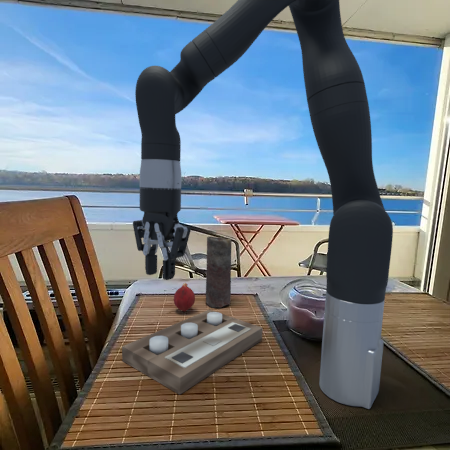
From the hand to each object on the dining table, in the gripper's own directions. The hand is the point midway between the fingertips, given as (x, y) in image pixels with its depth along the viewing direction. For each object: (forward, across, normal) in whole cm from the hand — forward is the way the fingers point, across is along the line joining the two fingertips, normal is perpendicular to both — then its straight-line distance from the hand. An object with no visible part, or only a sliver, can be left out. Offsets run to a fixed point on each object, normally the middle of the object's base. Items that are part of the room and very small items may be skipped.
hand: (159, 276), depth 62 cm
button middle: (+15, 0, -8) cm, 17 cm away
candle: (+17, +12, -32) cm, 39 cm away
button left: (+15, 0, 0) cm, 15 cm away
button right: (+15, 0, -17) cm, 23 cm away
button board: (+17, -2, -8) cm, 19 cm away
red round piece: (+17, +14, -22) cm, 31 cm away
